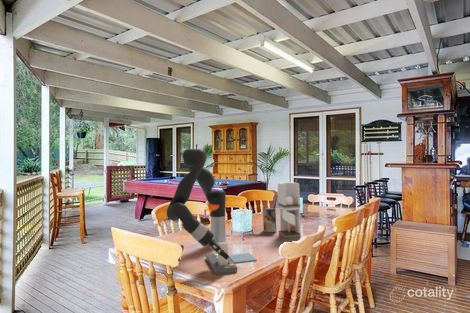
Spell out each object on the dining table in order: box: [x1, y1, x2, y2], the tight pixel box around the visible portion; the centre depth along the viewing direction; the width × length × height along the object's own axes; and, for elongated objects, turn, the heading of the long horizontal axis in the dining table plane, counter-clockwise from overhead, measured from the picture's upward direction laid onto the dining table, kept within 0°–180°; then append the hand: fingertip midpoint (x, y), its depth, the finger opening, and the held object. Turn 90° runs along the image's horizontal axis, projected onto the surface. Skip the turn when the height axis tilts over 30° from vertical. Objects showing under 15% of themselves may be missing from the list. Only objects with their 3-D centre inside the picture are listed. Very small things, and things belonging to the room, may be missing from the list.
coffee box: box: [262, 207, 277, 233], centre depth 230 cm, size 9×6×16 cm
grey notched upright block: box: [277, 181, 302, 238], centre depth 217 cm, size 11×11×35 cm
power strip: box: [205, 252, 238, 275], centre depth 163 cm, size 28×10×3 cm, turn 16°
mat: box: [228, 252, 257, 264], centre depth 170 cm, size 12×12×1 cm
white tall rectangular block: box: [218, 242, 229, 266], centre depth 156 cm, size 4×4×12 cm
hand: (225, 255), depth 157 cm, fingers open, 8 cm apart
